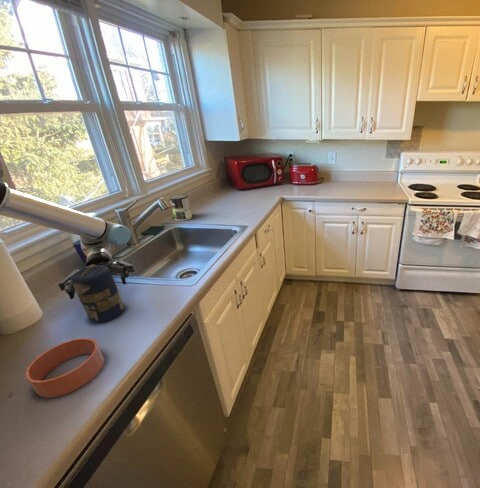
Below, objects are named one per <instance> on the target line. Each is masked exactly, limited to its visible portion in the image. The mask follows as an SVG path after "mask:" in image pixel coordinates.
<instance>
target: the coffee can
mask: <svg viewBox="0 0 480 488" xmlns="http://www.w3.org/2000/svg"><path fill="white" fill-rule="evenodd" d="M168 200H169V203H170V206H171V210H172V214H173V218H174V221H177V222H185V221H188V220H190V219H192V218H193V214H192V209H191V205H190V201H189V194H187V193H176V194H171V195H170V196H168Z"/></svg>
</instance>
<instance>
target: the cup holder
mask: <svg viewBox="0 0 480 488" xmlns="http://www.w3.org/2000/svg"><path fill="white" fill-rule="evenodd" d="M87 354H91V355H90V356H89V357H88V358H87V359H86V360H85V361H84V362H83V363H81V364H80V365H79V366H77V367H76V368H74V369H72V370H70V371H68V372H66V373H64V374H61V375H59V376H56V377H53V378H49V379H45V380H43V379H44V378H45V377H46V375H47V374H48V373H50V371H52V370H53V369H55V367H57V366H59V365H61V364H62V363H64V362H65V361H68V360H70V359H72V358H75V357H78V356H82V355H87ZM104 365H105V357H104V354H103V353H102V350H101V348H100V347H99V345H98V343H97V341H96V340H95V339H93V338H90V337H80V338H75V339H70V340H67V341H64V342H62V343H59V344H57V345H55V346H53V347H51V348H49V349H47V350H46V351H44V352H42V353H41V354H40V355H38V357H36V358H34V359H33V361H32V362H31V363H30V364H29V365H28V367H27V368H26V371H25V379H26V380H27V382H28V383H29V385H30V386H31V387H32V389H33V390H34V392H35V393H36V394H37V395H38V396H40V397H41V398H55V397H61V396H64V395H67V394H69V393H72V392H74V391H76V390H78V389H79V388H81V387H83V386H85V385H86V384H87V383H89V382H90V381H92V380H93V379H94V378H95V377H96V376H97V375H98V374H99V373H100V371H101V370H102V368H103V367H104Z"/></svg>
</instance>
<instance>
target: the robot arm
mask: <svg viewBox="0 0 480 488" xmlns="http://www.w3.org/2000/svg"><path fill="white" fill-rule="evenodd" d="M0 216H3V217H6V218H11V219H13V220H18V221H21V222H27V223H30V224H34V225H37V226H42V227H45V228H48V229H51V230H56V231H61V232H63V233H67V234H71V235H76V236H79V237H80V239H81V241H82V243H83V245H84V248H85V251H86V253H87V255H86V261H85V268H86V267H90V266H95V265H103V266H107V267H108V268H109V269H110V272H111V274H118V275H120V280H121V282H122V285H127V280H126V278H129V277H130V273H135V268H134V266H133V264H130V263H128V262H126V261H123V260H122V259H121V258H117V259H116V260H115V261H114V262H113V247H112V245H113V246H123V245H125V244H127V243H128V242H129V241H130V240H131V238H132V237H131V236H132V233H131V230H130V229H129V227H127V226H125V225H123V224H121V223H114V222H111V221H110V220H109V221H108V220H106V219H103V218H101V217H100V216H99V214H98V213H97V212H81V211H79V210H76V209H73V208H70V207H68V206H64V205H61V204H57V203H55V202H52V201H49V200H45V199H43V198H41V197H40V198H39V197H37V196H34V195H31V194H28V193H24V192H21V191H19V190H15V189H12V188H11V187H9V185H8V183H6V182H4V181H2V180H0ZM79 270H80V269H79V268H75V269H73V271H72V272H71V273H69V275H67V276H65V278H63V279H62V280H61V281H60V282H58V283H57V285H58V287H59V289H60V291H61V292H62V291H65V293H66V294H67V295H68V297H69V299H70V300H73V299H75V294H76V290H75V288H74V286H73V284H72V281H71V277H72V275H73V274H74V273H76V272H77V271H79Z"/></svg>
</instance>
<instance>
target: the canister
mask: <svg viewBox="0 0 480 488" xmlns="http://www.w3.org/2000/svg"><path fill="white" fill-rule="evenodd" d="M78 270H79V271H77V272H76V273H74V274H73V275H72V277H71V281H72V284H73V286H74V288H75V294H76V295H77V297H78V299H79V302H80V303H81V305H82V308H83V310H84V311H85V313H86V315H87V319H88V320H89V321H90V322H92V323H93V324H103V323H106V322H110V321H112V320H114V319H117V318H118V317H119V316H121V315H122V314H123V312H124V310H125V305H124V302H123V300H122V297H121V295H120V291H119V289H118V287H117V285H116V283H115V279H114V278H113V275H112V274H113V273H111V272H110V269H109V268H108V267H107V266H103V265H95V266H90V267H86V266H85V267H84V268H81V269H78Z"/></svg>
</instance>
